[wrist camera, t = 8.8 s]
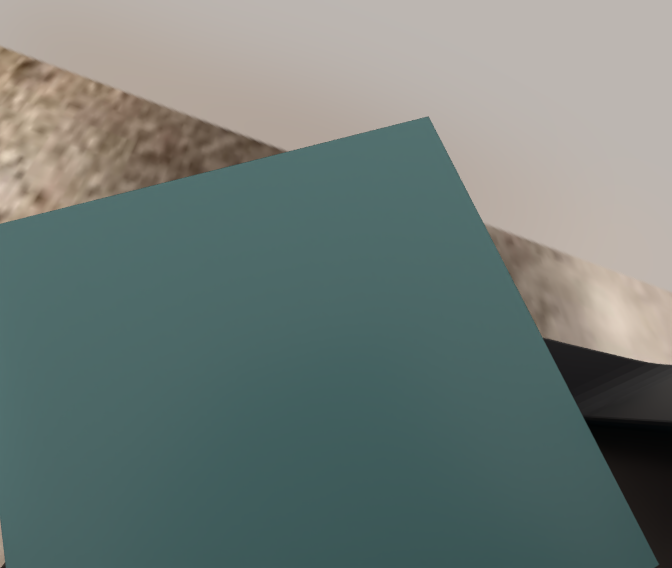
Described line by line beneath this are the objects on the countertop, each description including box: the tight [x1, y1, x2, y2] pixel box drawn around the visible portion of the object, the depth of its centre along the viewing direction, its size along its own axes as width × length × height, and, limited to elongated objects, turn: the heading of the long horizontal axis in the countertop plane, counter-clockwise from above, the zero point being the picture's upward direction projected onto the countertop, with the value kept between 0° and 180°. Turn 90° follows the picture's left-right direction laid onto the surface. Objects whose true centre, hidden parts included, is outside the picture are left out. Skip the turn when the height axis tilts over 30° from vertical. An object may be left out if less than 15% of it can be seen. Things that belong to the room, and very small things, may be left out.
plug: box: [0, 117, 659, 568], centre depth 9 cm, size 4×4×12 cm
